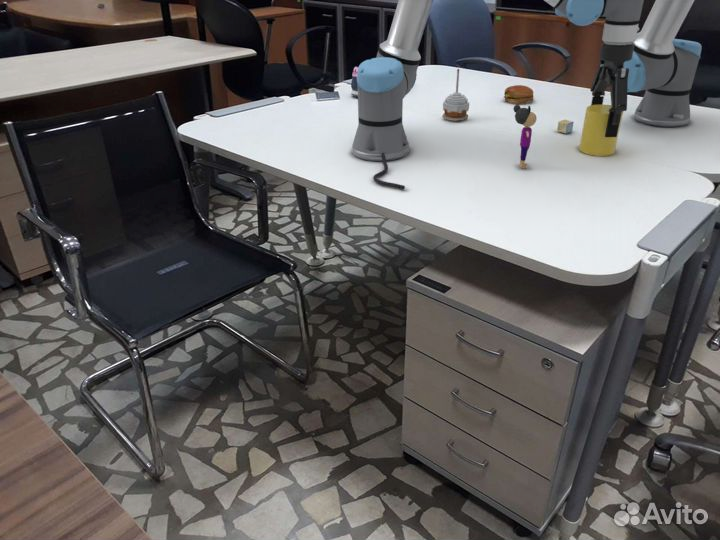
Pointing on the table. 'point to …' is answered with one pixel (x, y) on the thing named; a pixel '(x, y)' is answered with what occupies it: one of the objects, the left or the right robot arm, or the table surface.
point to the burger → (518, 94)
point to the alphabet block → (565, 126)
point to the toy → (524, 130)
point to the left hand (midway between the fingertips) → (601, 128)
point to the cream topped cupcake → (456, 105)
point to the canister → (597, 132)
